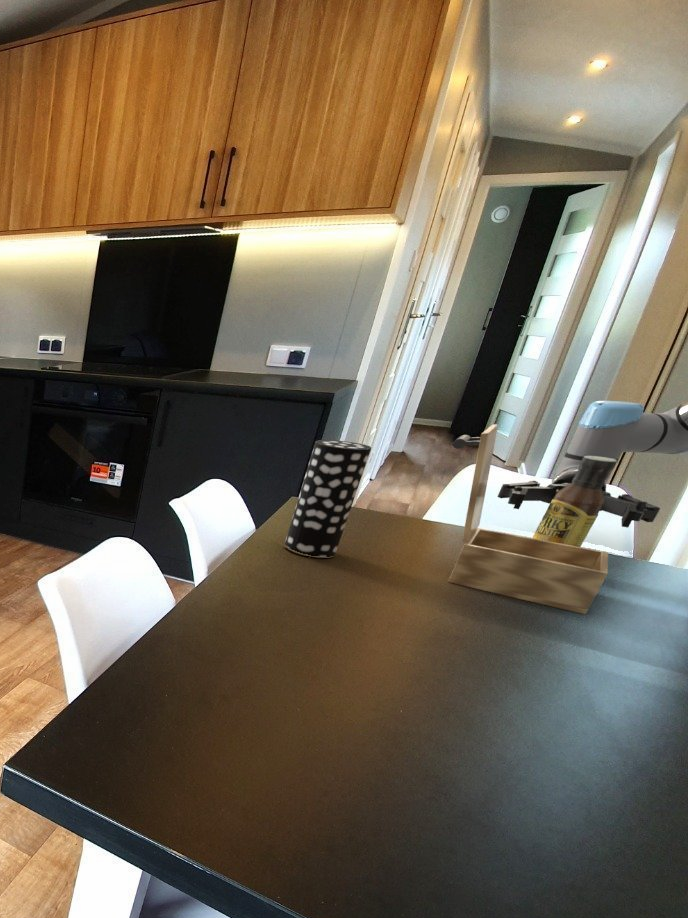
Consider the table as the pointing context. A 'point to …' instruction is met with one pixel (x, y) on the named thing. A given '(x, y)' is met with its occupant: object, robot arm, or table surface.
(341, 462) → the white-spotted black cylinder
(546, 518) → the sauce bottle
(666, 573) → the table surface
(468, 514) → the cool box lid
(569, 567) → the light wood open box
